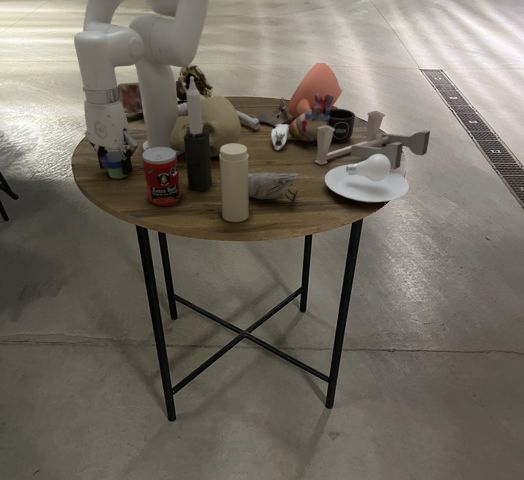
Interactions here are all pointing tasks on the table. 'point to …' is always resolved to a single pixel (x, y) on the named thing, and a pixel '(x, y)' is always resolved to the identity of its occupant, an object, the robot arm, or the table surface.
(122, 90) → the decorative box
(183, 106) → the light bulb
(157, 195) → the canned food
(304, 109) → the pink curved piece
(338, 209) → the table surface
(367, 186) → the plate
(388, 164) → the lightbulb
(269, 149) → the table surface
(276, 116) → the pottery fragment
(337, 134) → the mug
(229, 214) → the jar
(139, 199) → the table surface
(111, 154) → the lid
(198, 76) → the bear figurine
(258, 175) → the decorative bird
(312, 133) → the anatomical model
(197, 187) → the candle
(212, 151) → the skull
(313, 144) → the accessory
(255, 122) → the bone
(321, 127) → the toilet paper hanger
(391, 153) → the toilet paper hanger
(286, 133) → the bird figurine
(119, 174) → the stand
